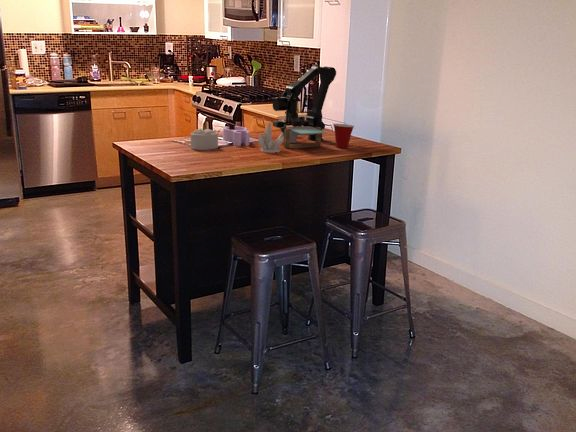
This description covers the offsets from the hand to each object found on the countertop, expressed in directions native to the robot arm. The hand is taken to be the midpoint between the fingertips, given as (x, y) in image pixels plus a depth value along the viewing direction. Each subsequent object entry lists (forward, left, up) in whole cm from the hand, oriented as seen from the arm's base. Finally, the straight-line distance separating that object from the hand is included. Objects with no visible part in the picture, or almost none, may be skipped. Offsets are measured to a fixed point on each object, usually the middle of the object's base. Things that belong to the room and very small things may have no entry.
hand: (290, 139), depth 294 cm
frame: (0, +14, -1) cm, 14 cm away
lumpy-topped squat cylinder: (+49, +3, -1) cm, 49 cm away
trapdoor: (0, +17, +5) cm, 18 cm away
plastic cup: (-20, +20, -1) cm, 28 cm away
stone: (0, 0, -1) cm, 1 cm away
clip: (+28, -6, -2) cm, 28 cm away
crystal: (+19, +18, -1) cm, 26 cm away
